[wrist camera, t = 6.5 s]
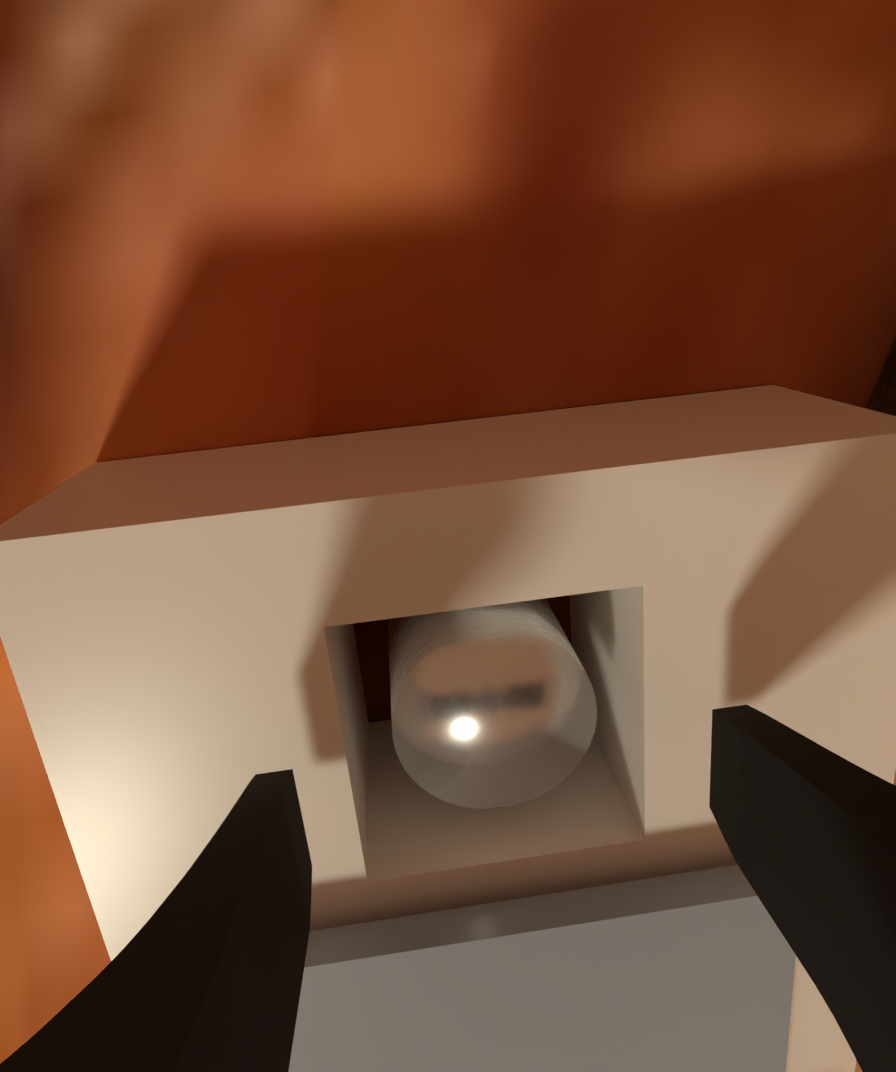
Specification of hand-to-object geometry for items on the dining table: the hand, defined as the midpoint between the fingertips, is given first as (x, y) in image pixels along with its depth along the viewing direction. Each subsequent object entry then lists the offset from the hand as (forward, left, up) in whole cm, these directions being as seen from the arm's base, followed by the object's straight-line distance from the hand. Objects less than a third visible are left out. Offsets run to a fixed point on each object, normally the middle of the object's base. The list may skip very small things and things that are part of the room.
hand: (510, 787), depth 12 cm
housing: (0, -4, -7) cm, 8 cm away
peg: (0, 0, -7) cm, 7 cm away
